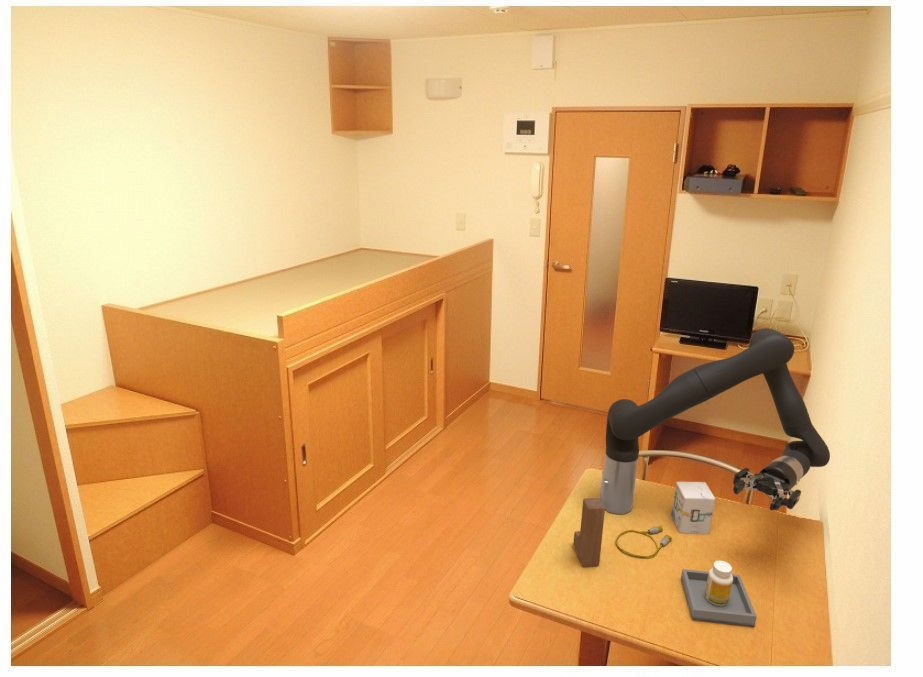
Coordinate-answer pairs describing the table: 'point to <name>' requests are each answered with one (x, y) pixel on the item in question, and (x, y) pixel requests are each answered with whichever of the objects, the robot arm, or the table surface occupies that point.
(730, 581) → the supplement bottle
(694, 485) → the ink box
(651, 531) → the extension cord
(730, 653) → the table surface
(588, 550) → the wooden block
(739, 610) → the tray
